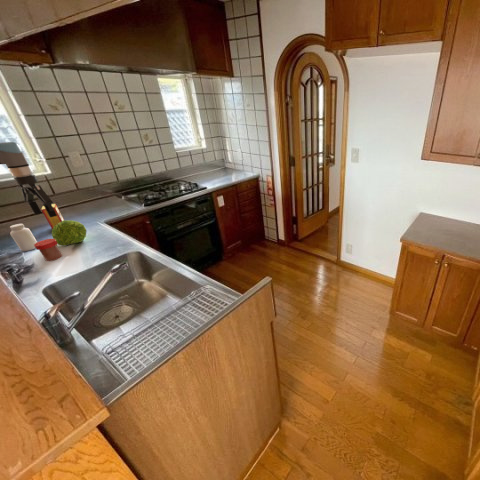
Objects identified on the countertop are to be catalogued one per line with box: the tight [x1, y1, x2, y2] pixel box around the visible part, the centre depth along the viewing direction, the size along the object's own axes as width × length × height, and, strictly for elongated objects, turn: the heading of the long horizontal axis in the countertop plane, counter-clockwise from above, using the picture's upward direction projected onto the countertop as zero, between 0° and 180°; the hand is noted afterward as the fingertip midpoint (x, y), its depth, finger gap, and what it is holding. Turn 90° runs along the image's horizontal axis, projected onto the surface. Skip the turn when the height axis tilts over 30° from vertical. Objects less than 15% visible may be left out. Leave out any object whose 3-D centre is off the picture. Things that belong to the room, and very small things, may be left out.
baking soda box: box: [40, 203, 65, 230], centre depth 179 cm, size 10×6×16 cm
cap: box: [34, 238, 58, 251], centre depth 138 cm, size 8×8×2 cm
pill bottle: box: [9, 223, 38, 252], centre depth 153 cm, size 8×8×15 cm
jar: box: [38, 244, 64, 262], centre depth 140 cm, size 7×7×11 cm
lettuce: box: [51, 219, 88, 247], centre depth 160 cm, size 15×25×16 cm
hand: (46, 215), depth 140 cm, fingers open, 13 cm apart
